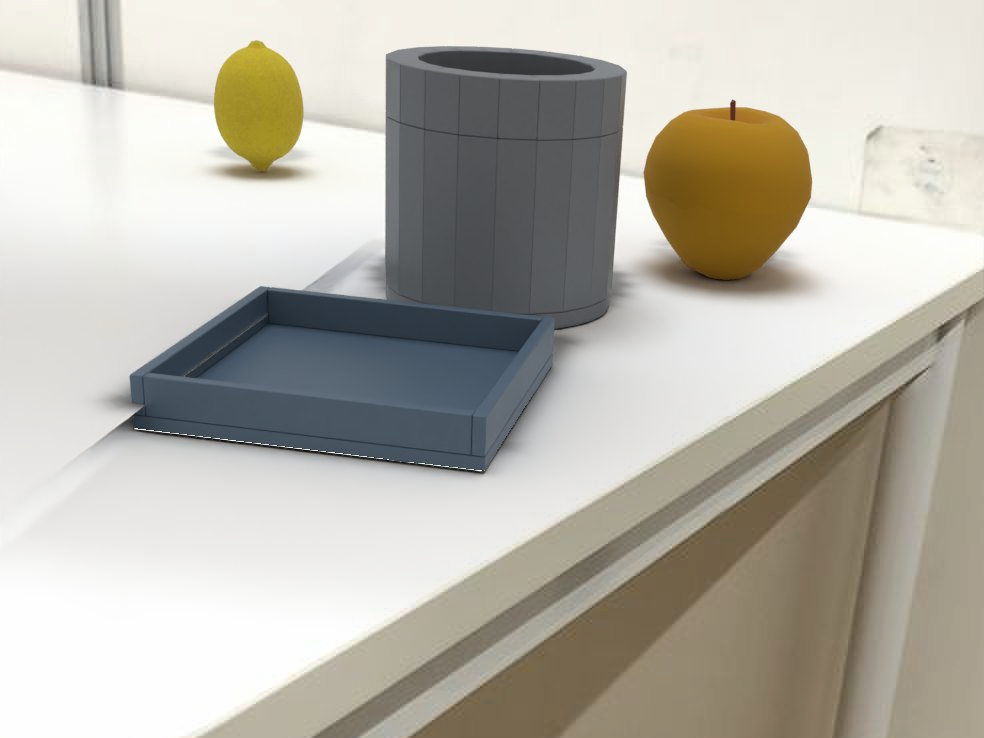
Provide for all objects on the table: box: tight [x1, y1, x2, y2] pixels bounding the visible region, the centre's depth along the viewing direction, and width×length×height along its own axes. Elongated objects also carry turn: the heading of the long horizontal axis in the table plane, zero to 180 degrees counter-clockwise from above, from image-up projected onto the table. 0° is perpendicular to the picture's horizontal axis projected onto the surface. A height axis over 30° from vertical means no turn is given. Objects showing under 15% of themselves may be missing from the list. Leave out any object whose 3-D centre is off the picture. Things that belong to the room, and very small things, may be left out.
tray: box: [129, 285, 555, 471], centre depth 59 cm, size 13×13×2 cm
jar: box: [384, 45, 628, 330], centre depth 71 cm, size 11×11×11 cm
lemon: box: [213, 39, 304, 172], centre depth 95 cm, size 6×6×8 cm
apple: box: [643, 99, 813, 281], centre depth 79 cm, size 9×9×9 cm
